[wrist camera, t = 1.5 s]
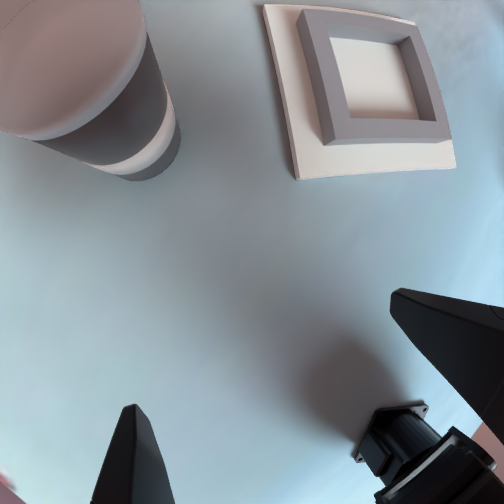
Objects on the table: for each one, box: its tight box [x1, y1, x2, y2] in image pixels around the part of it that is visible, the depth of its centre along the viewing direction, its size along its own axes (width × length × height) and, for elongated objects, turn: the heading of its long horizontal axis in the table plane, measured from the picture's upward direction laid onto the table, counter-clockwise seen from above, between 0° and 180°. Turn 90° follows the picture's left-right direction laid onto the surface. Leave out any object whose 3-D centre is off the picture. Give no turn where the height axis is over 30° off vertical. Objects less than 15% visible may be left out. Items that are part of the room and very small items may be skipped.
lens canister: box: [0, 0, 181, 181], centre depth 12 cm, size 6×6×13 cm
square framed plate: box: [262, 4, 456, 181], centre depth 18 cm, size 14×14×3 cm
